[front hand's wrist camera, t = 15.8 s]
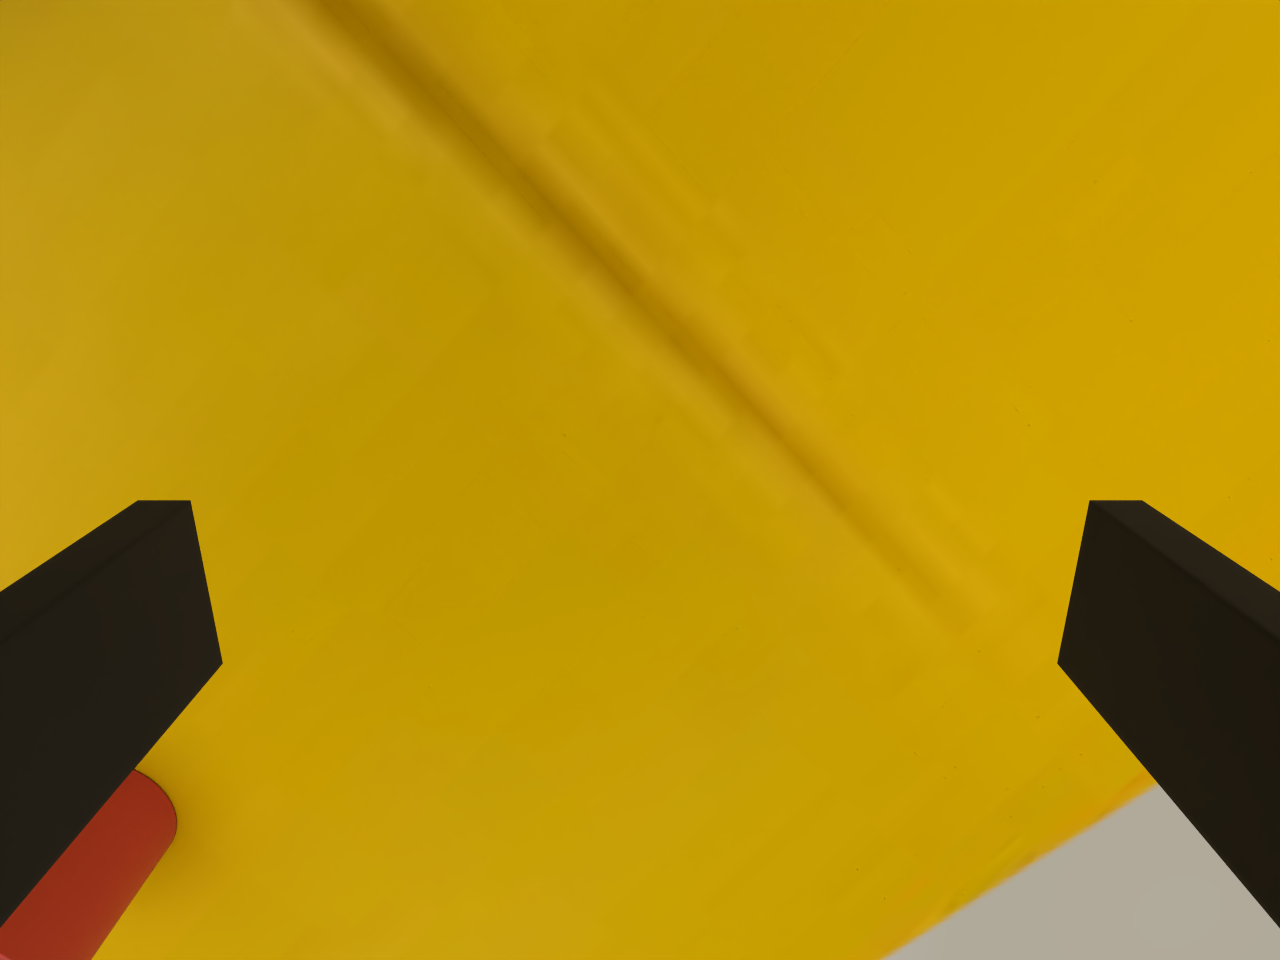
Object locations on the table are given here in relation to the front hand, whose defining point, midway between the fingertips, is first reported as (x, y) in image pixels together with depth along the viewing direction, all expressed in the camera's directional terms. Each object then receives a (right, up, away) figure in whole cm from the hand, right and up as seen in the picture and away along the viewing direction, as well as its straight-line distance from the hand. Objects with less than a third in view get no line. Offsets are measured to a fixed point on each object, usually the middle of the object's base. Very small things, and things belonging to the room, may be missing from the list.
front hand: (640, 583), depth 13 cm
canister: (-27, -16, +31) cm, 44 cm away
